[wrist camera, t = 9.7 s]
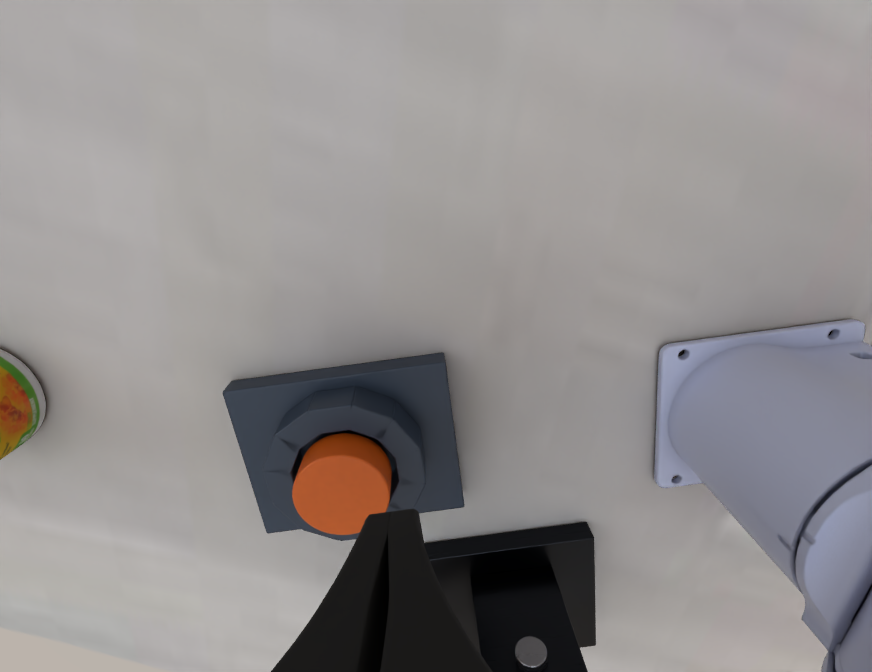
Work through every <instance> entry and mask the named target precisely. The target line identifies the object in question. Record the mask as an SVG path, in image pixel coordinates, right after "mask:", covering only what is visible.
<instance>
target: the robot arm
mask: <svg viewBox="0 0 872 672" xmlns="http://www.w3.org/2000/svg"><path fill="white" fill-rule="evenodd" d="M832 330H833V331H832ZM830 331H832V334H831V335H829V332H830ZM864 334H865V325H864V323H862V322H861V321H858V320H855V319H848V320H840V321H833V322H826V323H818V324H811V325H803V326H796V327H788V328H781V329H773V330H766V331H759V332H751V333H744V334H736V335H729V336H721V337H714V338H707V339H699V340H692V341H684V342H677V343H670V344H666V345H665V346H663V347H662V348H661V350H660V352H659V363H658V390H657V417H656V443H655V470H654V479H655V482H656V483H657V484H658V485H659V487H662V488H670V487H677V486H685V485H692V484H700V483H704V484H705V485H706V486H707V488H708V489H709V490H710V491H711V492H712V493H713V494H714V495H715V497H716V498H717V499H718V500H719V501H720V502H721V503H722V504H723V505H724V507H725V508H726V509H727V510H728V511H729V512H730V513H731V514H732V516H733V517H734V518H735V519H736V520H737V521H738V522H739V523H740V525H741V526H742V527H743V528H744V529H745V530H746V531H747V532H748V534H749V535H750V536H751V537H752V538H753V539H754V540H755V541H756V543H757V544H758V545H759V546H760V547H761V548H762V549H763V550H764V551H765V553H766V554H767V555H768V556H769V557H770V558H771V559H772V560H773V562H774V563H775V564H776V565H777V566H778V567H779V568H780V569H781V571H782V572H783V573H784V574H785V575H786V576H787V577H788V578H789V580H790V581H791V582H792V583H793V584H794V585H795V586H796V587H797V589H798V590H799V591H800V592H801V593H802V594H803V596H804V598H805V610H804V613H803V616H802V620H803V621H804V622H805V624H806V625H807V626H808V627H809V628H810V630H811V631H812V632H813V633H814V634H815V636H816V637H817V638H818V639H819V640H820V641H821V643H822V644H823V645H824V646H825V647H826V649H827V650H828V653H827V654H826V656H825V658H824V661H823V665H822V669H821V672H872V345H869V344H867V343H864V342H863V339H864ZM828 335H829V336H828ZM684 349H685V352H684V354H683V355H682V356H680V357H678V354H679V352H680V351H681V350H684ZM676 475H677V477H676V478H674V479H672V478H673V477H674V476H676ZM271 672H493V671H492V670H491V669H490V667H489V666H488V664H487V663H486V661H485V660H484V658H483V657H482V656H481V654H480V653H479V651H478V650H477V648H476V647H475V645H474V644H473V643H472V641H471V640H470V638H469V636H468V635H467V633H466V632H465V630H464V628H463V627H462V625H461V623H460V622H459V620H458V618H457V616H456V615H455V613H454V611H453V609H452V607H451V606H450V604H449V602H448V600H447V598H446V596H445V594H444V592H443V590H442V588H441V586H440V583H439V581H438V579H437V577H436V575H435V572H434V570H433V567H432V565H431V562H430V560H429V557H428V554H427V552H426V549H425V546H424V540H423V534H422V529H421V523H420V517H419V512H418V511H417V510H415V509H407V510H399V511H392V512H384V513H377V514H369V515H368V517H367V518H366V520H365V522H364V524H363V527H362V529H361V531H360V533H359V535H358V538H357V540H356V542H355V544H354V546H353V548H352V550H351V552H350V554H349V556H348V558H347V560H346V561H345V563H344V565H343V567H342V569H341V571H340V572H339V574H338V576H337V578H336V580H335V581H334V583H333V585H332V586H331V588H330V590H329V591H328V593H327V595H326V596H325V598H324V599H323V601H322V603H321V604H320V606H319V608H318V609H317V611H316V612H315V614H314V615H313V617H312V618H311V620H310V621H309V623H308V624H307V625H306V627H305V628H304V630H303V631H302V632H301V634H300V635H299V636H298V638H297V639H296V641H295V642H294V643H293V645H292V646H291V647H290V648H289V650H288V651H287V652H286V653H285V655H284V656H283V657H282V658H281V660H280V661H279V662H278V663H277V665H276V666H275V667H274V668H273V670H272V671H271Z"/></svg>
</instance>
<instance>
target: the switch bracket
mask: <svg viewBox="0 0 872 672" xmlns="http://www.w3.org/2000/svg"><path fill="white" fill-rule="evenodd" d="M424 546H425V549H426V552H427V554H428V557H429V560H430V562H431V565H432V567H433V570H434V572H435V575H436V577H437V579H438V581H439V583H440V586H441V588H442V590H443V592H444V594H445V596H446V598H447V600H448V602H449V604H450V606H451V607H452V609H453V611H454V613H455V615H456V616H457V618H458V620H459V622H460V623H461V625H462V627H463V628H464V630H465V632H466V633H467V635H468V636H469V638H470V640H471V641H472V643H473V644H474V645H475V647H476V648H477V650H478V651H479V653H480V654H481V656H482V657H483V658H484V660H485V661H486V663H487V664H488V666H489V667H490V669H491V670H492V671H493V672H588V671H587V668H586V665H585V662H584V660H583V657H582V654H581V651H580V647H588V646H595V645H596V628H595V565H594V537H593V534H592V532H591V530H590V528H589V526H588V524H587V522H583V523H575V524H568V525H560V526H553V527H545V528H538V529H530V530H523V531H515V532H508V533H500V534H493V535H485V536H478V537H470V538H463V539H455V540H448V541H440V542H433V543H425V544H424Z"/></svg>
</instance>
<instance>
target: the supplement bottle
mask: <svg viewBox="0 0 872 672" xmlns="http://www.w3.org/2000/svg"><path fill="white" fill-rule="evenodd" d="M45 411H46V402H45V396H44V393H43V390H42V388H41V385H40V384H39V382H38V380H37V379H36V377H35V376H34V374H33V373H32V372H31V371H30V369H29V368H28V367H27V366H26V365H25V364H24V363H22V362H21V361H20V360H19V359H17V358H16V357H14V356H13V355H11V354H9V353H7V352H6V351H4V350H1V349H0V460H1V459H2V458H3V457H5V456H6V455H8V454H9V453H10V452H12V451H13V450H15V449H16V448H17V447H19V446H20V445H22V444H23V443H24V442H25V441H27V440H28V439H29V438H31V437H32V436H33V435H34V434H35V433H36V432H37V430H38V429H39V428H40V426H41V425H42V422H43V420H44V417H45Z"/></svg>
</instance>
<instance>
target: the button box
mask: <svg viewBox="0 0 872 672" xmlns="http://www.w3.org/2000/svg"><path fill="white" fill-rule="evenodd" d="M223 396H224V399H225V402H226V405H227V408H228V412H229V415H230V418H231V421H232V424H233V427H234V431H235V434H236V437H237V440H238V443H239V446H240V450H241V453H242V456H243V459H244V462H245V465H246V469H247V472H248V475H249V478H250V481H251V484H252V488H253V491H254V494H255V497H256V500H257V503H258V507H259V510H260V513H261V516H262V519H263V522H264V526H265V529H266V532H267V533H274V532H282V531H289V530H297V529H302V530H304V531H308V532H311V533H315V534H318V535H322V536H325V537H329V538H332V539H336V540H340V541H344V540H352V539H357V538H358V535H359V533H360V532H359V533H356V534H350V535H335V534H329V533H325V532H322V531H320V530H318V529H316V528H314V527H312V526H311V525H309V524H308V523H307V522H305V521H304V520H303V519H302V517H301V516H300V515H299V513H298V512H297V510H296V508H295V505H294V503H293V498H292V489H293V484H294V481H295V478H296V475H297V473H298V470H299V467H300V464H301V462H302V459H303V457H304V455H305V453H306V452H307V450H308V449H309V448H310V447H311V446H312V445H313V444H314V443H315V442H317V441H319V440H320V439H322V438H324V437H326V436H329V435H333V434H339V433H351V434H357V435H360V436H363V437H366V438H368V439H370V440H372V441H373V442H375V443H376V444H377V445H378V446H380V447H381V448H382V450H383V451H384V452H385V453H386V455H387V457H388V459H389V461H390V464H391V470H392V476H391V491H390V501H389V506H388V508H387V511H386V512H392V511H399V510H407V509H415V510H417V511H418V512H419V513H424V512H431V511H439V510H446V509H454V508H461V507H464V499H463V491H462V484H461V476H460V469H459V461H458V453H457V446H456V438H455V431H454V423H453V415H452V408H451V400H450V393H449V385H448V377H447V370H446V362H445V356H444V353H436V354H429V355H422V356H414V357H407V358H399V359H392V360H384V361H377V362H370V363H362V364H355V365H347V366H340V367H332V368H325V369H318V370H310V371H303V372H295V373H288V374H280V375H273V376H266V377H258V378H251V379H243V380H236V381H231V382H230V384H229V385H228V386H227V387H226V389H225V390H224V391H223Z"/></svg>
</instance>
